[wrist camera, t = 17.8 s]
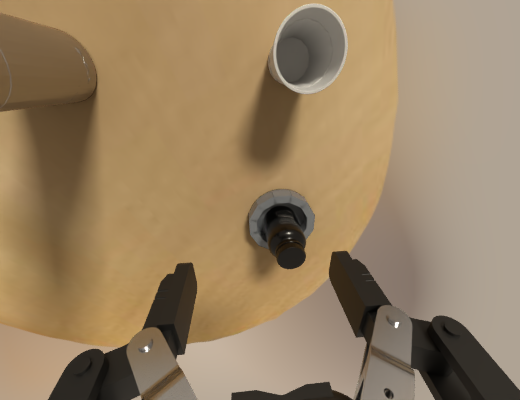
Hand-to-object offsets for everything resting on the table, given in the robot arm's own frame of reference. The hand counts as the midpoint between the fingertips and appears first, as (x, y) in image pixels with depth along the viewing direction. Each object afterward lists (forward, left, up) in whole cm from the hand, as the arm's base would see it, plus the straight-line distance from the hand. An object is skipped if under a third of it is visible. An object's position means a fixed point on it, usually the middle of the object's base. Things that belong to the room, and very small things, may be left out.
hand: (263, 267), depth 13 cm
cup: (+7, +12, -30) cm, 33 cm away
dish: (+6, -16, -30) cm, 35 cm away
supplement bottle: (+6, -16, -30) cm, 34 cm away
